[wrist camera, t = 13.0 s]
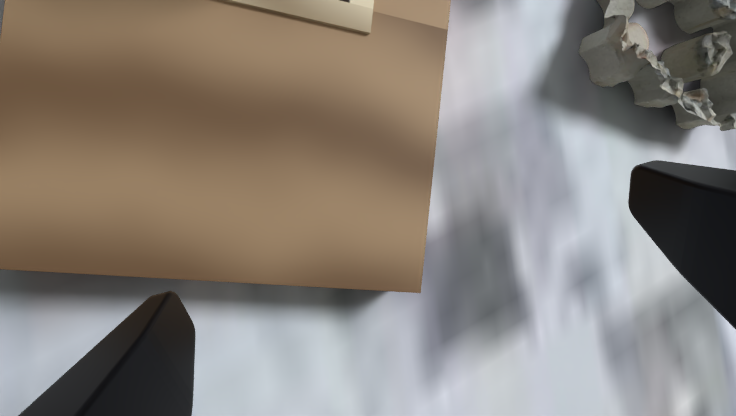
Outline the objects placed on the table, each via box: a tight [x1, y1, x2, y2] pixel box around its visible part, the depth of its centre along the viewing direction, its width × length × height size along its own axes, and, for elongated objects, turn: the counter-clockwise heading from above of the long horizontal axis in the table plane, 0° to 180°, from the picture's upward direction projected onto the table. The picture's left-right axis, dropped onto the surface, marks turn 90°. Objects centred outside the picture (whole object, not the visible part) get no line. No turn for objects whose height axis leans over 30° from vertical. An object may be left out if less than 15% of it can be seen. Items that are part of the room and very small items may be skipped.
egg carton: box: [578, 0, 736, 131], centre depth 25 cm, size 11×8×4 cm
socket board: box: [0, 0, 451, 293], centre depth 18 cm, size 22×16×3 cm
